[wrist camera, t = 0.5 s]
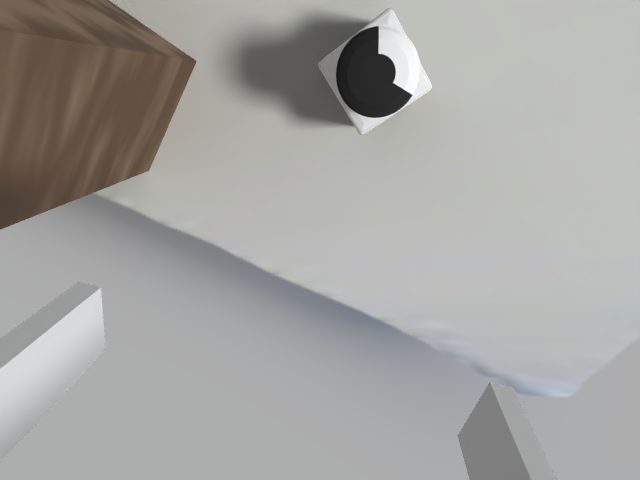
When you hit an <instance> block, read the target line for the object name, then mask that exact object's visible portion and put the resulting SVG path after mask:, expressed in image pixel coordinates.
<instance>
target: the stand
mask: <svg viewBox="0 0 640 480" xmlns="http://www.w3.org/2000/svg"><path fill="white" fill-rule="evenodd" d="M195 63H196V61H195V60H194V59H193V58H191V57H190V56H188V55H187V54H185V53H184V52H182V51H181V50H180V49H178V48H177V47H175V46H174V45H172V44H171V43H169V42H168V41H167V40H165V39H164V38H162V37H161V36H159V35H158V34H156V33H155V32H154V31H152V30H151V29H149V28H148V27H146V26H145V25H143V24H142V23H141V22H139V21H138V20H136V19H135V18H133V17H132V16H130V15H129V14H128V13H126V12H125V11H123V10H122V9H120V8H119V7H117V6H116V5H115V4H113V3H112V2H110V1H109V0H0V229H2V228H5V227H8V226H10V225H13V224H15V223H18V222H20V221H23V220H25V219H28V218H30V217H33V216H35V215H38V214H40V213H43V212H45V211H48V210H50V209H53V208H56V207H58V206H60V205H63V204H66V203H68V202H71V201H73V200H76V199H78V198H81V197H83V196H86V195H88V194H91V193H93V192H96V191H99V190H101V189H104V188H106V187H109V186H111V185H114V184H116V183H119V182H121V181H124V180H126V179H129V178H131V177H134V176H136V175H139V174H141V173H144V172H146V171H149V169H150V167H151V164H152V162H153V160H154V158H155V155H156V153H157V151H158V148H159V146H160V144H161V141H162V139H163V137H164V135H165V132H166V130H167V128H168V125H169V123H170V121H171V119H172V116H173V114H174V112H175V109H176V107H177V105H178V102H179V100H180V98H181V96H182V93H183V91H184V89H185V86H186V84H187V82H188V79H189V77H190V75H191V73H192V70H193V68H194V66H195Z"/></svg>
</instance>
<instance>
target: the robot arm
mask: <svg viewBox="0 0 640 480" xmlns="http://www.w3.org/2000/svg"><path fill="white" fill-rule="evenodd" d="M103 323H104V322H103V309H102V296H101V287H97V286H93V285H89V284H84V283H80V282H77V283H76V284H75V285H73V286H72V287H71V288H69V289H68V290H66V291H65V292H64V293H62V294H61V295H60V296H58V297H57V298H55V299H54V300H53V301H51V302H50V303H49V304H47V305H46V306H45V307H43V308H42V309H40V310H39V311H38V312H36V313H35V314H33V315H32V316H31V317H29V318H28V319H26V320H25V321H24V322H22V323H21V324H20V325H18V326H17V327H16V328H14V329H13V330H11V331H10V332H9V333H7V334H6V335H5V336H3V337H2V338H0V462H1V461H2V460H3V458H4V457H5V456H6V455H7V454H8V453H9V452H10V451H11V450H12V449H13V448H14V447H15V446H16V444H18V442H19V441H20V440H21V439H22V438H23V437H24V436H25V435H26V434H27V433H28V432H29V431H30V429H31V428H32V427H33V426H34V425H35V424H36V423H37V422H38V421H39V420H40V419H41V418H42V417H43V416H44V415H45V414H46V412H48V410H49V409H50V408H51V407H52V406H53V405H54V404H55V403H56V402H57V401H58V400H59V399H60V398H61V397H62V395H63V394H64V393H65V392H66V391H67V390H68V389H69V388H70V387H71V386H72V385H73V384H74V383H75V382H76V381H77V379H78V378H79V377H80V376H81V375H82V374H83V373H84V372H85V371H86V370H87V369H88V368H89V367H90V365H92V363H93V362H94V361H95V360H96V359H97V358H98V357H99V356H100V355H101V354H102V353H103V352H104V351H105V336H104V324H103ZM458 438H459V442H460V446H461V449H462V453H463V457H464V460H465V464H466V467H467V471H468V475H469V479H470V480H558V479H557V477H556V475H555V473H554V471H553V469H552V467H551V465H550V463H549V461H548V459H547V457H546V455H545V453H544V451H543V449H542V447H541V444H540V442H539V440H538V438H537V436H536V434H535V432H534V430H533V428H532V426H531V424H530V422H529V420H528V418H527V416H526V414H525V412H524V410H523V408H522V406H521V404H520V402H519V400H518V397H517V395H516V393H515V391H514V389H513V388H512V387H508V386H504V385H500V384H496V383H491V382H490V383H489V384H488V386H487V388H486V390H485V391H484V393H483V395H482V396H481V398H480V399H479V401H478V403H477V404H476V406H475V408H474V409H473V411H472V413H471V414H470V416H469V418H468V419H467V421H466V423H465V424H464V426H463V428H462V429H461V431H460V433H459V434H458Z"/></svg>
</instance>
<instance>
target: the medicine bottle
mask: <svg viewBox="0 0 640 480" xmlns="http://www.w3.org/2000/svg"><path fill="white" fill-rule="evenodd" d="M318 67H319V69H320V70H321V72H322V74H323V75H324V77H325V79H326V80H327V82H328V84H329V85H330V87H331V89H332V90H333V92H334V93H335V95H336V97H337V98H338V100H339V102H340V103H341V105H342V107H343V108H344V110H345V112H346V113H347V115H348V117H349V118H350V120H351V121H352V123H353V125H354V126H355V128H356V130H357V131H358V133H359V134H360V135H363V134H365V133H367V132H368V131H370V130H371V129H373V128H374V127H376V126H377V125H379V124H380V123H382V122H383V121H385V120H386V119H388V118H389V117H391V116H392V115H394V114H395V113H397V112H398V111H400V110H402V109H403V108H405V107H406V106H408V105H409V104H411V103H412V102H414V101H415V100H417V99H418V98H420V97H421V96H423V95H424V94H426V93H427V92H429V91H430V90H431V88H432V84H431V82H430V80H429V79H428V77H427V75H426V73H425V71H424V69H423V67H422V65H421V63H420V61H419V57H418V54H417V51H416V49H415V47H414V45H413V43H412V42H411V41H410V39H409V38H408V37H407V36H406V34H405V32H404V30H403V28H402V26H401V24H400V22H399V21H398V19H397V17H396V15H395V13H394V11H393V10H392V9H390V8H389V9H387V10H385V11H384V12H383V13H381V14H380V15H379V16H378V17H376V18H375V19H374V20H372V21H371V22H370V23H368V24H367V25H366V26H365V27H363V28H362V29H361V30H359V31H358V32H357V33H356V34H354V35H353V36H352V37H350V38H349V39H348V40H346V41H345V42H344V43H343V44H341V45H340V46H339V47H337V48H336V49H335V50H333V51H332V52H331V53H330V54H328V55H327V56H326V57H324V58H323V59H322V60H320V62H319V63H318Z"/></svg>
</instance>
